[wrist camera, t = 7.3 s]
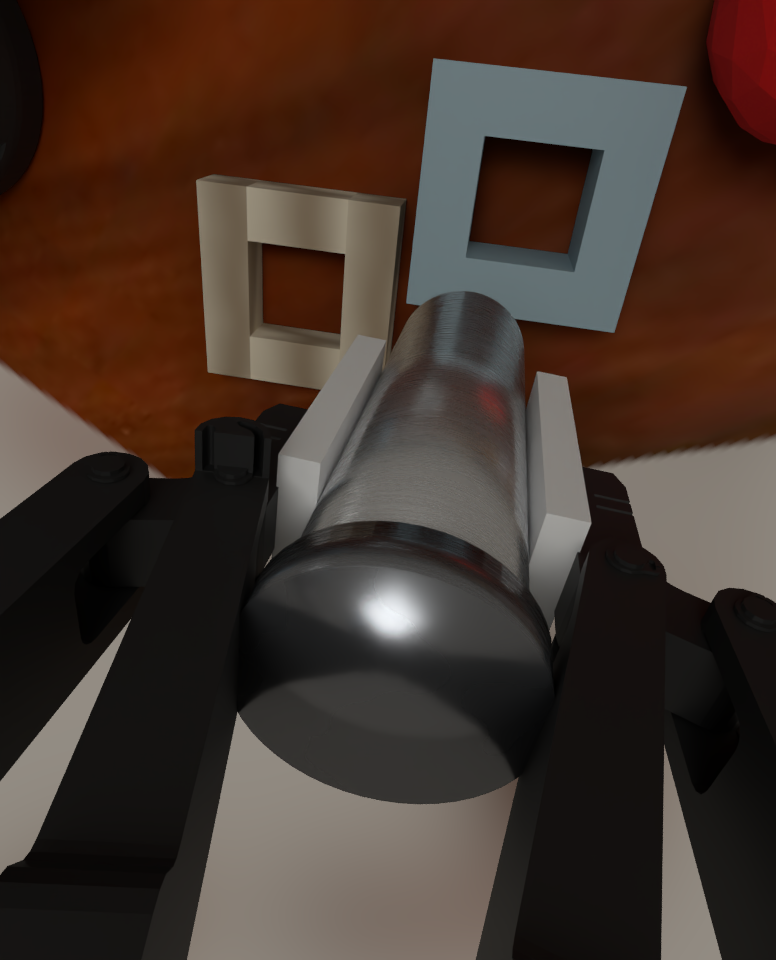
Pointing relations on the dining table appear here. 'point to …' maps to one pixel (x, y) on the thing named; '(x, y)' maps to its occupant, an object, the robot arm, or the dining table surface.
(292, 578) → the pin
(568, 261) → the socket
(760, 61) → the tomato
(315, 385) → the beige square frame
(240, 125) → the dining table surface
